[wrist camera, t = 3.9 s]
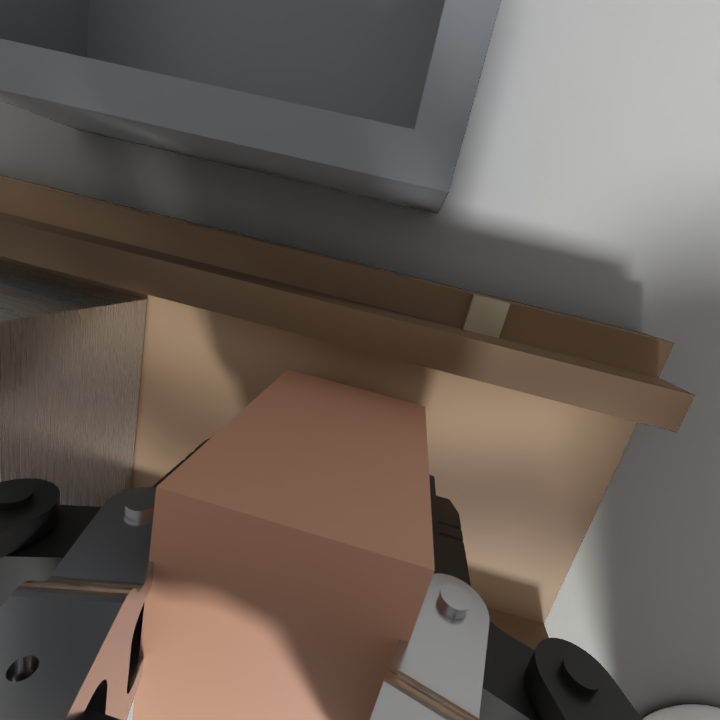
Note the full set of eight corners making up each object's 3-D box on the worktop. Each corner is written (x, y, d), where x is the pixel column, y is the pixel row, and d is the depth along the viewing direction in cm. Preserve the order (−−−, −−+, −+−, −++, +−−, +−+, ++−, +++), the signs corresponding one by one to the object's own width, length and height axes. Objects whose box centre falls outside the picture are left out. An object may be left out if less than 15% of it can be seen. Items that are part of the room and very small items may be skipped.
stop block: (287, 369, 11) (156, 486, 6) (425, 406, 11) (434, 569, 5) (260, 514, 13) (131, 728, 7) (381, 550, 12) (351, 804, 7)
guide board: (-7, 173, 14) (-119, 151, 11) (643, 333, 12) (714, 356, 9) (-1, 474, 17) (-86, 518, 14) (513, 629, 15) (536, 714, 13)
